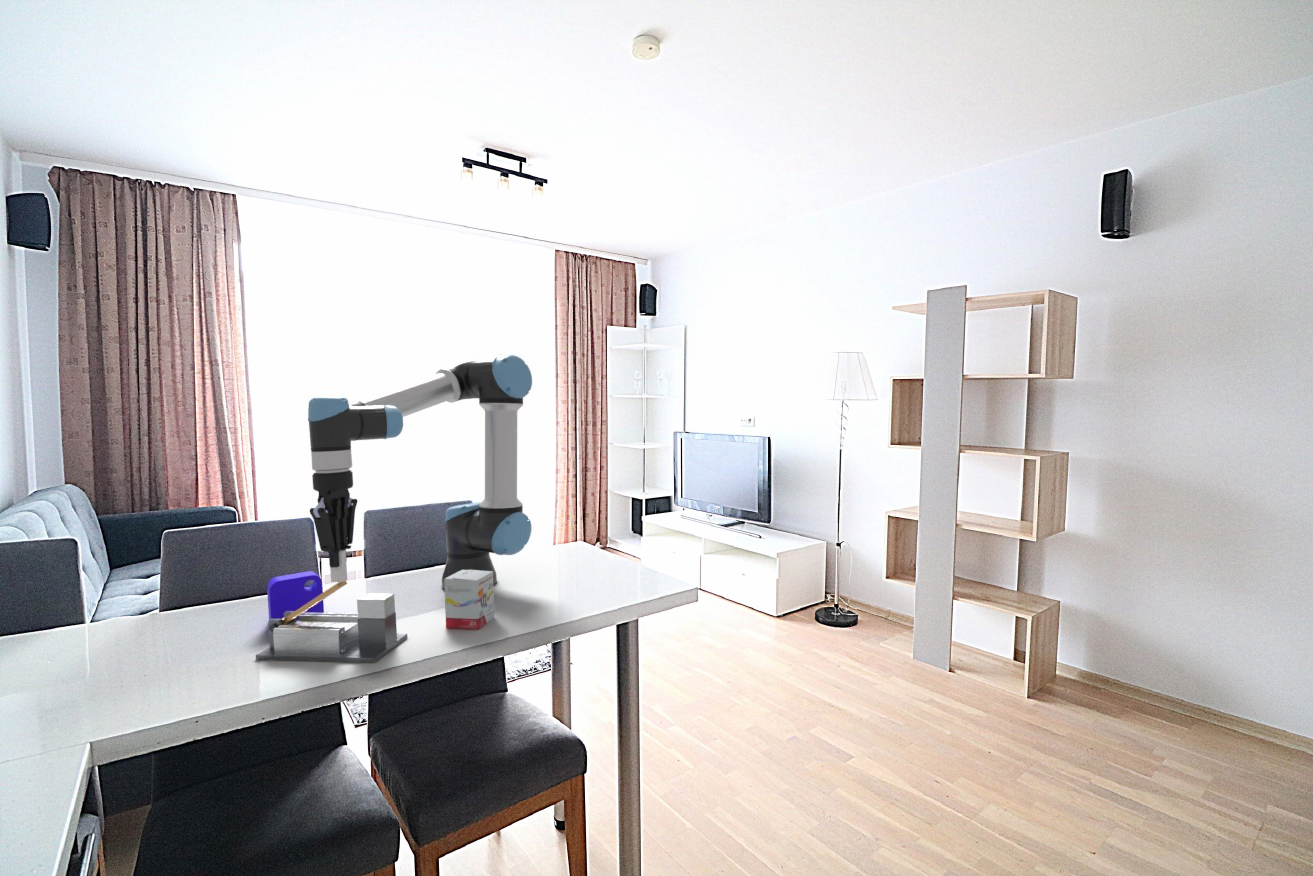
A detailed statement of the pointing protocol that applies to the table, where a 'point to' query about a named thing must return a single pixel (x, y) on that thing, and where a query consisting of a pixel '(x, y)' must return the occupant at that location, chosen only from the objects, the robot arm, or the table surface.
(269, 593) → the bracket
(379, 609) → the white block
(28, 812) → the table surface
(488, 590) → the ink box
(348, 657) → the base
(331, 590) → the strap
